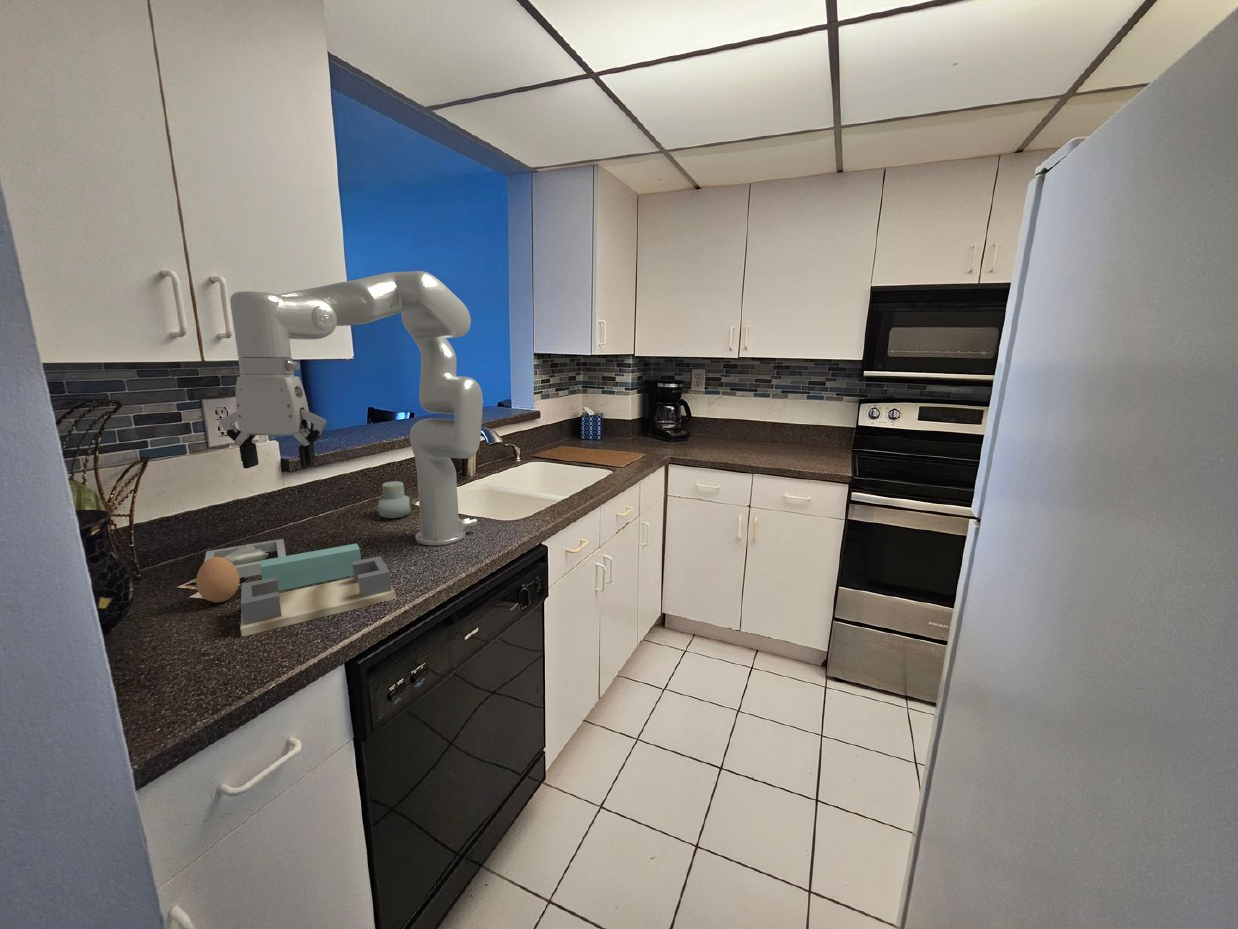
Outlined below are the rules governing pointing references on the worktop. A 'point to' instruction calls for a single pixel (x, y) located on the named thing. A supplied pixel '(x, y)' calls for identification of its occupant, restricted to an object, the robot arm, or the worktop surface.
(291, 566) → the slat
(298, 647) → the worktop surface
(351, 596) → the base board
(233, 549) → the parts tray
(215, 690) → the worktop surface
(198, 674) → the worktop surface
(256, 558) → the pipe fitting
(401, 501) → the air freshener
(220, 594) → the egg
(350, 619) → the worktop surface
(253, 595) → the grey slat holder
